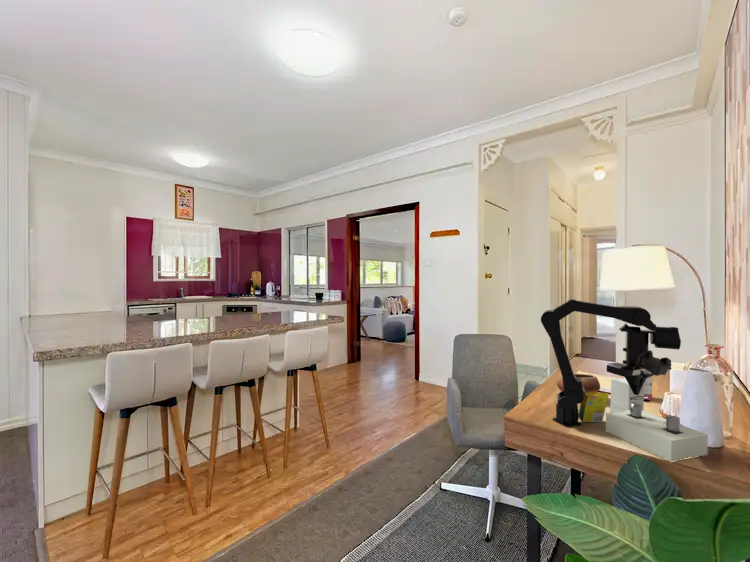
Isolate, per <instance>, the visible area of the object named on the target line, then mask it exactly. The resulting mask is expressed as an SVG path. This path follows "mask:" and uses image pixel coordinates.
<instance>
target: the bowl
mask: <svg viewBox="0 0 750 562" xmlns="http://www.w3.org/2000/svg"><path fill="white" fill-rule="evenodd" d="M573 373H574V372H573ZM574 375H575V376H576V378H580V377H581V382H582V385H583V387H584V388H585V393H590V392H595V393H599V391H600V389H601V384H600V382H599V379H598V378H597V376H595V375H593V374H588V373H576V372H575V373H574ZM556 386H557V387H558V390H560V392H562V391H563V390H564V388H563V378H562V374H561V373H560V374H559V376H558V377H557V380H556Z"/></svg>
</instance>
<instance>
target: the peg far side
mask: <svg viewBox="0 0 750 562" xmlns="http://www.w3.org/2000/svg"><path fill="white" fill-rule="evenodd" d="M665 419H666V431H668V432H670V433H673V434H679V430H680V425H681V423H680V417H679V416H676V415H669V414H668V415H667V414H666V418H665Z"/></svg>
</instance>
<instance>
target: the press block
mask: <svg viewBox="0 0 750 562" xmlns="http://www.w3.org/2000/svg"><path fill="white" fill-rule="evenodd" d="M606 431H607V433H608V432H609V434H610V433H611V435H613V436H614V437H617V438H619V439H621V440H623V441H625V442H626V443H630V444H631V443H632V445H633V446H636V447H638V448H640V449H642V448H643V449H642V450H644V449H645V450H644V451H646V450H647V451H646V452H648V451H649V452H648V453H650V452H651V454H652V453H653V455H654V454H655V456H657V455H658V456H657V457H659V456H660V457H659V458H661V457H663V458H665V459H668V460H670V461H675V460H680V459H684V458H688V457H695V456H700V455H704V454H707V455H708V446H709V445H708V444H709V443H708V441H709V440H708V439H709V438H708V437H709V435H708V434H707V433H704V432H702V431H698V430H696V429H693V428H690V427H688V426H685V425H682V424H680V430H679V434H673V433H670V432H668V431H666V418H664V417H661V416H659V415H656V414H653V413H651V412H647V411H645V410H644V409H643V410H642V419H635V418H633V417H630V410H627V411H619V412H606V413H605V432H606ZM663 458H662V459H663ZM665 459H664V460H665Z"/></svg>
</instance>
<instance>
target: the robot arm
mask: <svg viewBox="0 0 750 562" xmlns="http://www.w3.org/2000/svg"><path fill="white" fill-rule="evenodd" d="M574 312H578V313H583V314H587V315H588V314H589V315H593V316H594V315H596V316H601V317H606V318H613V319H616V320H619V321H621V322H624V325H622V326H621V327H619V329H618V330H619V331H621V332H622V333H623V332H625V333H626V336H625V337H626V338H625V339H626V340H625V341H626V344H625V347H622V352H625V360H622V363H620V362H610V363H608V364H607V365H606V372H607V373H610V374H613V375H616V376H621V377H623V378H624V377H625V379H626V380H627V382H628V384H629V386H630V388H631V390H632V392H633V394H635V395H639V393H640V391H641V388H642V386H643V384H644V382H645V380H646V379H647V378H649V377H651V376H652V377H653V376H657V377H659V376H665V375H666V374H667V373H668V371H670V370H672V367H671V366H672V360H671V359H670V358H668V357H661V358H659V357H655V356H654V355H653V354H654V353H653V351H652V350H650V349H649V342H650V345H653V346H654V348H657V349H667V350H677V351H678V350H680V348H681V345H682V340H681V338H680V333H679V328H678V327H677V326H668V327H667V326H657V324H655V323H654V322H653V321H652V320H651V319H652V317H651V316H652V315H651V314H650V312H649V310H647V309H645V308H643V307H641V306H636V305H633V306H629V305H628V306H627V305H626V306H623V305H622V306H617V305H615V306H614V305H607V304H602V303H595V302H589V301H582V300H577V299H574V298H569V299H568V300H567V301H566V302H564V303H562V304H561V305H559V306H558V307H555V308H554V309H548V310H545V311H544V312H543V313H542V314H541V317H540V323H541V324H542V327H543V328H544V329H545V332H546V333H547V335H548V337H549V338H550V339H549V340H550V341H551V346H552V348H553V352H554V355H555V358H556V360H557V364H558V367H559V371H560V375H561V374H562V378H563V388H564V390H563V391H560V392H559V393H558V394H557V402H556V404H555V406H556V409H555V417H552V421H555V422H557V423H558V424H560V425H563V426H564V427H567V428H568V427H569V428H570V427H574V426H581V425H582V422H579V418H578V414H579V404H580V405H581V402H582V401H583V399H584V395H583V394H585V388H584V387H583V385H582V382H581V377H580V378H576V376H575V375H574V370H573V367H572V364H571V361H570V358H569V355H568V352H567V349H566V346H565V343H564V339H563V336H562V328H561V320H563V319H564V318H566V317H567V316H568V315H570V314H571V313H574ZM628 324H630V325H634V326H629V325H628ZM641 327H644V328H645V329H641ZM646 329H647V330H646ZM649 372H651V374H650V373H649Z"/></svg>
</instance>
